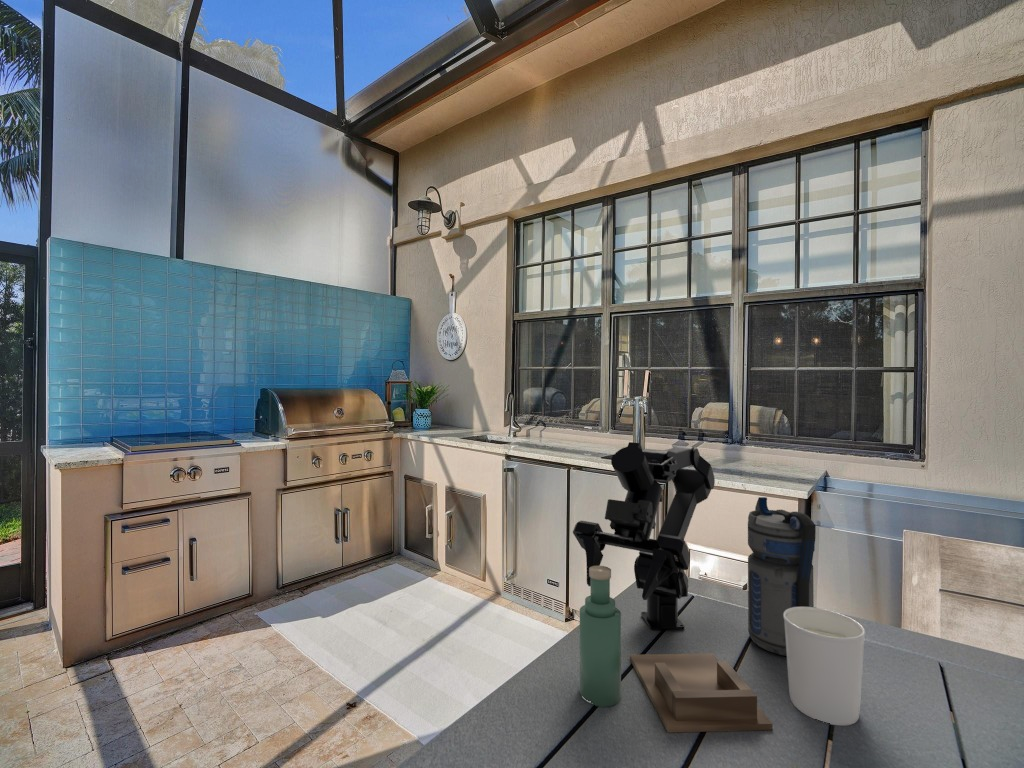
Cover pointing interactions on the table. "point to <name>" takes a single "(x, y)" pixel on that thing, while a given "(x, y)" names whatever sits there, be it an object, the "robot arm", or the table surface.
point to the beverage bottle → (777, 571)
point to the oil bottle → (600, 642)
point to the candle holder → (824, 663)
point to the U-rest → (698, 693)
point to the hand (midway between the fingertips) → (615, 591)
